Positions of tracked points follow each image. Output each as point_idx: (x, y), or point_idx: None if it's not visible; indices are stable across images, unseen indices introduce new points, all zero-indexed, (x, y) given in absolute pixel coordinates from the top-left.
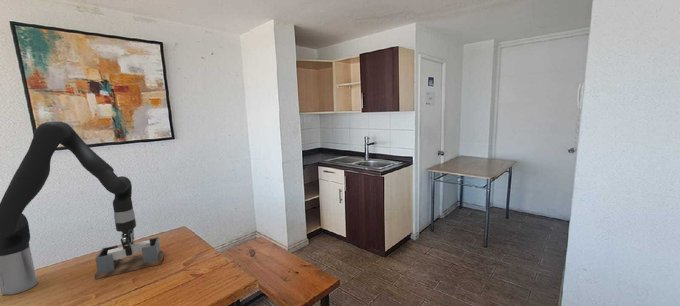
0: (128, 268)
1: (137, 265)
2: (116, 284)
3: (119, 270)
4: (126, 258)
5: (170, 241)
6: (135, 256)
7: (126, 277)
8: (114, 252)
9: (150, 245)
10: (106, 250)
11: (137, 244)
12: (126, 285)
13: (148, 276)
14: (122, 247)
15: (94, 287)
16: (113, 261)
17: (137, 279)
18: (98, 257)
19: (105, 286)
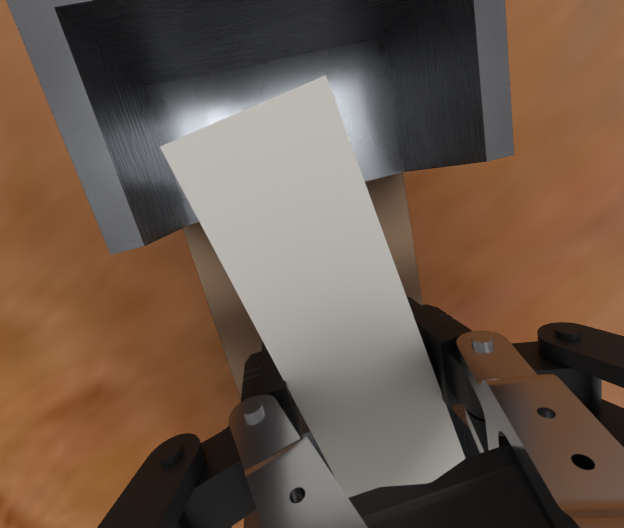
0: (216, 317)
1: (234, 378)
2: (32, 305)
3: (196, 257)
4: (397, 224)
5: (608, 390)
6: (408, 288)
7: (131, 329)
8: (216, 245)
9: (462, 449)
10: (441, 2)
11: (394, 470)
12: (7, 386)
13: (115, 472)
14: (362, 302)
15: (5, 140)
16: (176, 229)
17: (85, 420)
18: (40, 21)
19: (11, 231)
